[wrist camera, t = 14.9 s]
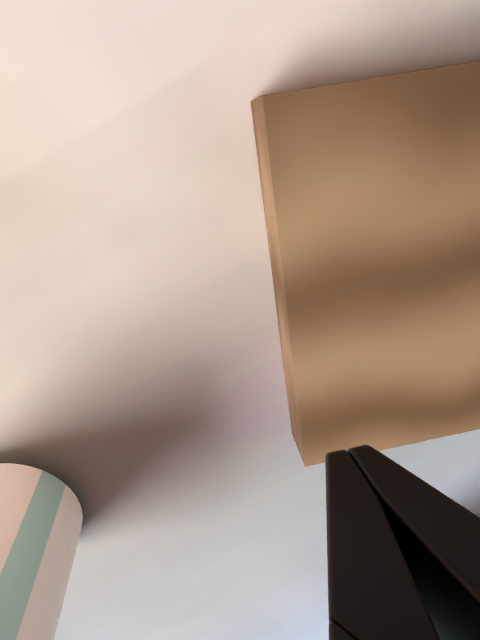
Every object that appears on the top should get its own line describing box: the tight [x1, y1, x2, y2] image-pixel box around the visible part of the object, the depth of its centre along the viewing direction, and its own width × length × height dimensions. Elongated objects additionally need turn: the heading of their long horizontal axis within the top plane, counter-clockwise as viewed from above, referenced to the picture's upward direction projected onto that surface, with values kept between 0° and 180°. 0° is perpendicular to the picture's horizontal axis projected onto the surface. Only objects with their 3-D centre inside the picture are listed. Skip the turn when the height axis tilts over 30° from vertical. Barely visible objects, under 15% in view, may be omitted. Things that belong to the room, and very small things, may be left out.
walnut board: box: [251, 61, 480, 466], centre depth 19 cm, size 16×12×2 cm
